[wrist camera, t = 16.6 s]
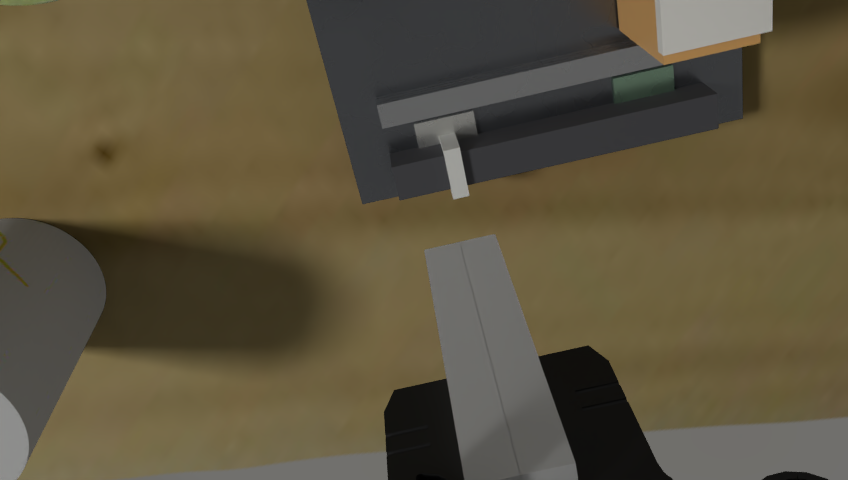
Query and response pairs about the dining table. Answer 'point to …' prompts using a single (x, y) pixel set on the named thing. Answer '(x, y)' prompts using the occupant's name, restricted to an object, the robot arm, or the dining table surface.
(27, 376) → the white cylinder
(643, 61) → the panel
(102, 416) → the dining table surface
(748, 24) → the orange white block
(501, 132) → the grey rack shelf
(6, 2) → the plant pot
